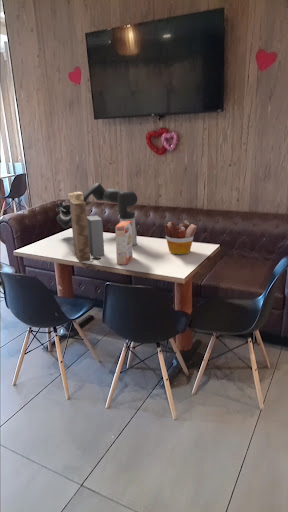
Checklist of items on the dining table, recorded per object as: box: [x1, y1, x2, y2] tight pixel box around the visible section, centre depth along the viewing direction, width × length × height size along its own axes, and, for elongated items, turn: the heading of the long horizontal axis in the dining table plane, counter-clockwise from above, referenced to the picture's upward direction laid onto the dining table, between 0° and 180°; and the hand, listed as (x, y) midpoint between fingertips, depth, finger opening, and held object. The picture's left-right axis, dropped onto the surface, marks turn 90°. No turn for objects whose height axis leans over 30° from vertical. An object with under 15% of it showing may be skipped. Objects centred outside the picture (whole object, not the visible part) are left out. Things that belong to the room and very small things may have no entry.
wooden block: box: [69, 199, 91, 263], centre depth 201 cm, size 6×14×32 cm, turn 21°
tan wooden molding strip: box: [67, 191, 84, 204], centre depth 200 cm, size 4×24×5 cm, turn 21°
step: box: [87, 215, 105, 259], centre depth 209 cm, size 6×12×22 cm, turn 21°
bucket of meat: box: [163, 220, 198, 255], centre depth 207 cm, size 20×16×20 cm
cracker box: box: [114, 221, 134, 266], centre depth 196 cm, size 14×6×21 cm, turn 168°
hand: (68, 202), depth 222 cm, fingers open, 8 cm apart
